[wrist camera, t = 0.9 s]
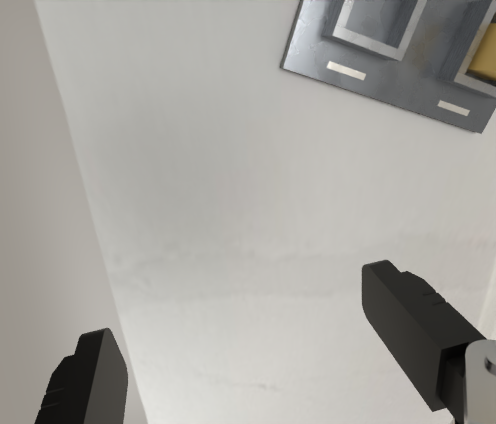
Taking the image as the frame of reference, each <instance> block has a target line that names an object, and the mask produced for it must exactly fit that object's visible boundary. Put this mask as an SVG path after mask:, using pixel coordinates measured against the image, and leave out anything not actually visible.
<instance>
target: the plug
mask: <svg viewBox="0 0 496 424" xmlns="http://www.w3.org/2000/svg"><path fill="white" fill-rule="evenodd" d="M466 72H467V73H470V74H472V75H475V76H477V77H480V78H483V79H485V80H494V81H496V23H490V24H489V26H488V28H487V30H486V32H485V34H484V36H483V38H482V40H481V42H480V44H479V46H478V48H477V50H476V52H475V54H474V56H473V58H472V61H471V63H470V65H469V67H468V69H467V71H466Z"/></svg>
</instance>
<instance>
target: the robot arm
mask: <svg viewBox="0 0 496 424" xmlns="http://www.w3.org/2000/svg"><path fill="white" fill-rule="evenodd" d="M362 306H363V310H364V313H365V315H366V318H367V319H368V321H369V323H370V324H371V325H372V327H373V328H374V330H375V331H376V332H377V334H378V335H379V337H380V338H381V340H382V341H383V342H384V344H385V345H386V347H387V348H388V350H389V351H390V352H391V354H392V355H393V357H394V358H395V360H396V361H397V362H398V364H399V365H400V367H401V368H402V369H403V371H404V372H405V374H406V375H407V377H408V378H409V379H410V381H411V382H412V384H413V385H414V387H415V388H416V389H417V391H418V392H419V394H420V395H421V396H422V398H423V399H424V401H425V402H426V404H427V405H428V406H429V408H430V409H431V411H432V412H434V411H437V410H441V409H444V408H447V409H448V410H449V412H450V413H451V414H452V416H453V423H452V424H496V340H487V339H486V338H485V337H484V336H483V335H482V334H481V333H480V332H479V331H478V330H477V329H476V328H474V327H473V326H472V325H471V324H470V323H469V322H468V321H467V320H466V319H465V318H464V317H463V316H462V315H461V314H460V313H459V312H458V311H457V310H455V309H454V308H453V307H452V306H451V305H450V304H449V303H448V302H447V303H446V301H445V299H444V298H443V297H442V296H441V295H440V294H439V293H436V291H435V290H434V289H433V288H432V287H431V286H430V285H429V284H428V283H427V282H426V281H425V280H424V279H422V278H420V277H418V276H416V275H414V274H412V273H410V272H408V271H406V272H402V273H401V272H400V271H399V270H398V269H397V268H396V267H395V266H394V265H393V264H392V263H391V262H390V261H388V260H382V261H378V262H374V263H370V264H366V265H363V267H362ZM127 386H128V373H127V367H126V364H125V361H124V359H123V356H122V354H121V352H120V350H119V347H118V345H117V343H116V340H115V338H114V336H113V334H112V332H111V330H110V329H109V328H105V329H101V330H97V331H93V332H89V333H85V334H82V335H81V336H80V338H79V341H78V344H77V347H76V351H75V354H74V355H72V356H67V357H64V359H63V360H62V361H61V363H60V364H59V365H58V367H57V368H56V369H55V371H54V372H53V373H52V376H51V378H50V381H49V384H48V387H47V390H46V395H44V398H43V401H42V404H41V410H39V412H38V415H37V418H36V421H35V424H123V420H124V412H125V403H126V395H127Z"/></svg>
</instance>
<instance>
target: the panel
mask: <svg viewBox="0 0 496 424" xmlns="http://www.w3.org/2000/svg"><path fill="white" fill-rule="evenodd" d="M490 23H496V0H301V1H300V4H299V7H298V11H297V14H296V17H295V20H294V24H293V27H292V30H291V33H290V37H289V40H288V43H287V46H286V50H285V53H284V56H283V59H282V63H281V66H280V68H283V69H286V70H289V71H292V72H295V73H298V74H302V75H305V76H308V77H311V78H314V79H317V80H320V81H323V82H326V83H329V84H332V85H335V86H338V87H341V88H344V89H347V90H350V91H353V92H356V93H359V94H362V95H365V96H368V97H371V98H374V99H377V100H380V101H383V102H386V103H389V104H392V105H395V106H398V107H401V108H404V109H407V110H410V111H413V112H416V113H419V114H422V115H425V116H428V117H431V118H434V119H437V120H440V121H443V122H447V123H450V124H453V125H456V126H459V127H462V128H465V129H468V130H471V131H474V132H477V133H480V134H482V132H483V130H484V129H485V127H486V125H487V123H488V121H489V119H490V117H491V116H492V114H493V112H494V110H495V108H496V81H494V80H485V79H483V78H480V77H477V76H475V75H472V74H470V73H467V72H466V71H467V69H468V67H469V65H470V63H471V61H472V58H473V56H474V54H475V52H476V50H477V48H478V46H479V44H480V42H481V40H482V38H483V36H484V34H485V32H486V30H487V28H488V26H489V24H490Z"/></svg>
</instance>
